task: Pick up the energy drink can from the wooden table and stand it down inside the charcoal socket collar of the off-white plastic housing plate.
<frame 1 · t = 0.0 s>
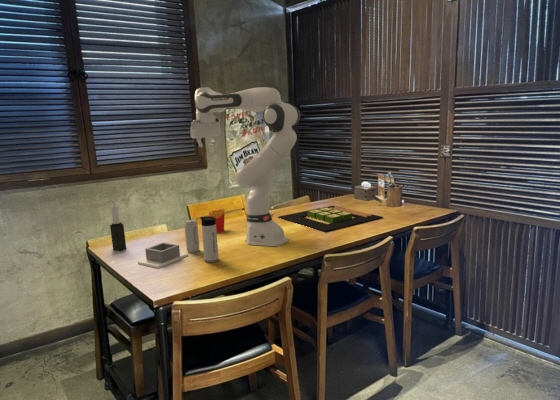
hand: (207, 146, 213), 48 cm above the table, tool pointing down, fingers open, 8 cm apart
travel mug: (211, 260, 179), on the table
energy drink can: (193, 251, 193), on the table
housing: (163, 259, 183), on the table
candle: (119, 249, 201), on the table
french fries: (218, 231, 226), on the table
sushi set: (329, 219, 245), on the table
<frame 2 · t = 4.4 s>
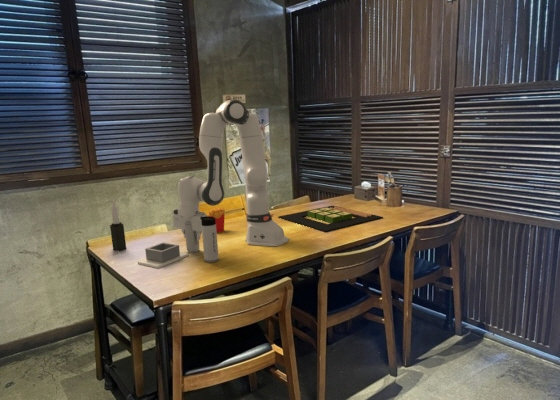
hand: (192, 238, 192), 6 cm above the table, tool pointing down, fingers closed on energy drink can, 6 cm apart
energy drink can: (193, 251, 193), on the table, touching gripper
everything else where it was.
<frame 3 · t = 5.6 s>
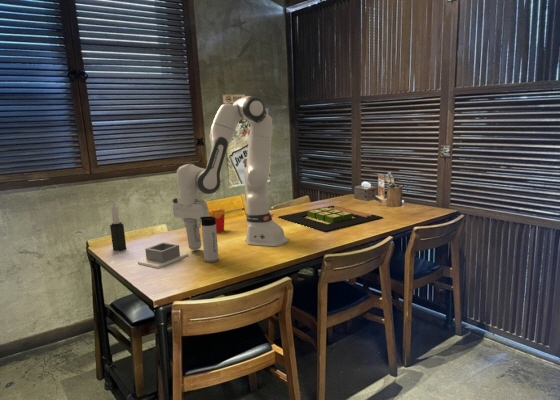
hand: (192, 227, 191), 12 cm above the table, tool pointing down, fingers closed on energy drink can, 6 cm apart
energy drink can: (195, 248, 193), point 1 cm above the table, touching gripper
everything else where it was.
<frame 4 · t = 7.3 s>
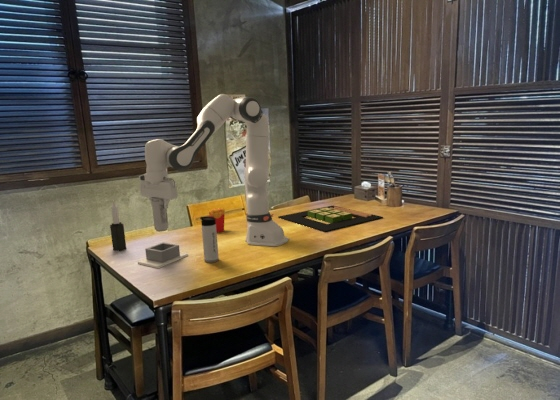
hand: (159, 207, 178), 24 cm above the table, tool pointing down, fingers closed on energy drink can, 6 cm apart
energy drink can: (161, 230, 180), point 14 cm above the table, touching gripper
everything else where it was.
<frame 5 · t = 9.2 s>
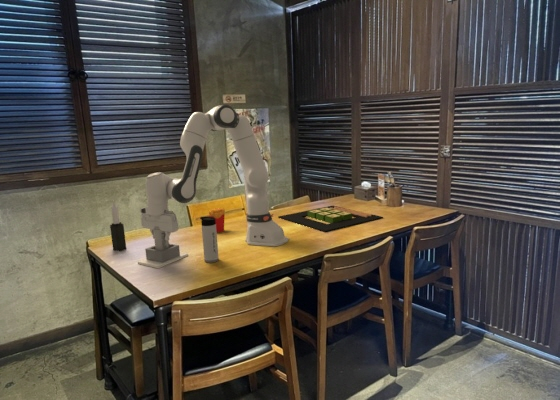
hand: (161, 239, 181), 10 cm above the table, tool pointing down, fingers closed on energy drink can, 6 cm apart
energy drink can: (163, 257, 182), point 1 cm above the table, touching gripper, housing
everything else where it was.
when the fingers open (9 cm above the table, at t = 10.2 s): energy drink can stays where it is, resting on housing.
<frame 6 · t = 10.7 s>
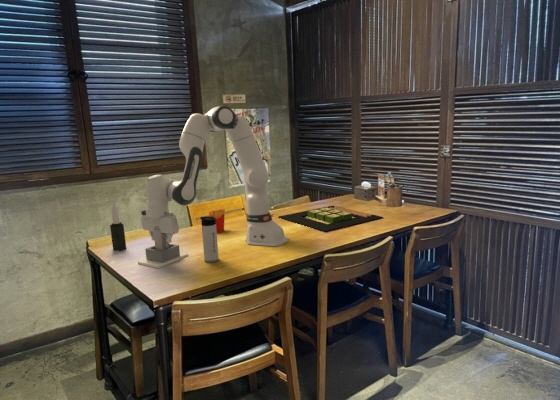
hand: (161, 241, 181), 9 cm above the table, tool pointing down, fingers open, 8 cm apart
energy drink can: (163, 257, 182), point 1 cm above the table, touching housing
everything else where it was.
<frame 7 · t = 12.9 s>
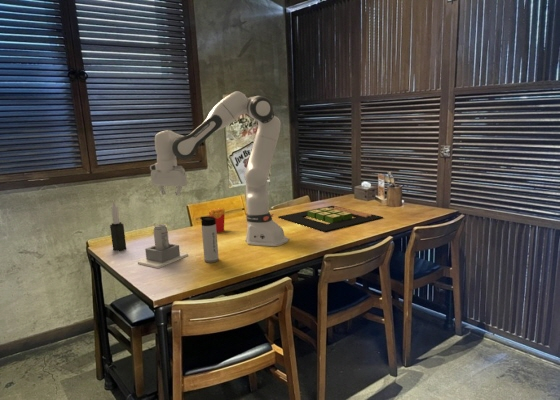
hand: (170, 194, 190), 27 cm above the table, tool pointing down, fingers open, 8 cm apart
nothing on the table moved.
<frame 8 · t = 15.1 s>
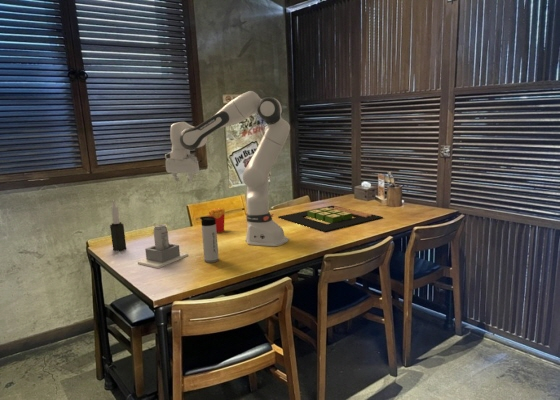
hand: (183, 181, 205), 31 cm above the table, tool pointing down, fingers open, 8 cm apart
nothing on the table moved.
at the end: energy drink can 0.0 cm off-centre on the housing, point 0.8 cm above the housing's base; energy drink can tilted 0°; the gripper is holding nothing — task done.
